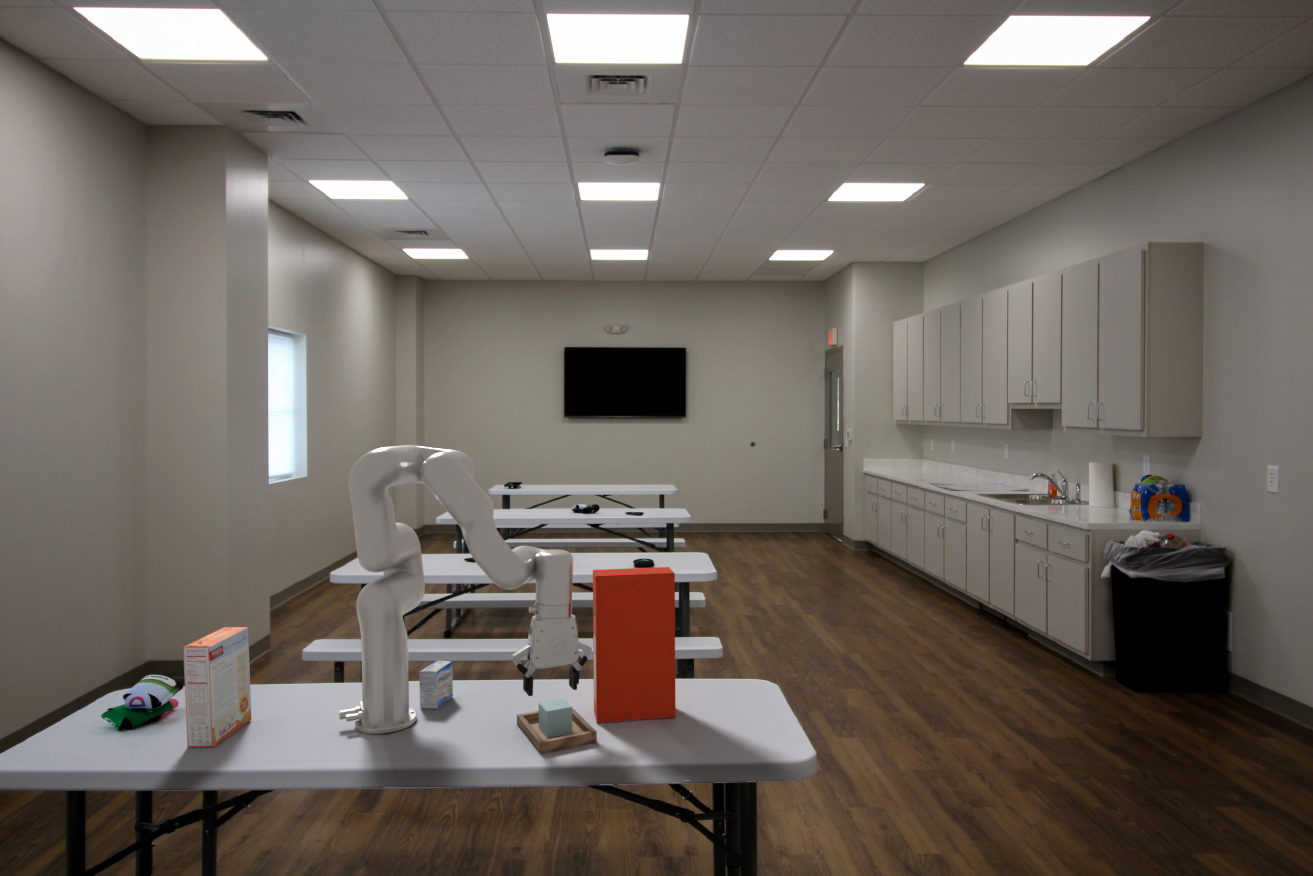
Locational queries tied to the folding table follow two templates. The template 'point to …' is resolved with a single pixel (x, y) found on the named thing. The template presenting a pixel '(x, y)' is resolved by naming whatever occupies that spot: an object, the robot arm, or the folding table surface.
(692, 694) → the folding table surface
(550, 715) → the teal cube
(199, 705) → the cracker box
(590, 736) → the walnut tray
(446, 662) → the medicine box
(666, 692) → the tall orange-red block
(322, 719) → the folding table surface
